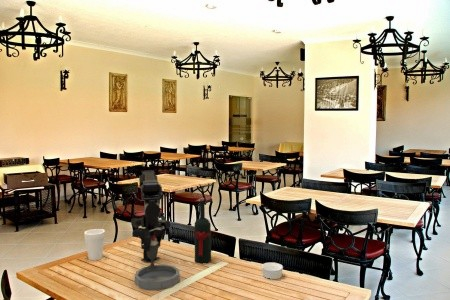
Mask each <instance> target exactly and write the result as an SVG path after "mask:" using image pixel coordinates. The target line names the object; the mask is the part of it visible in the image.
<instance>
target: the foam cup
mask: <svg viewBox="0 0 450 300" xmlns="http://www.w3.org/2000/svg"><path fill="white" fill-rule="evenodd" d="M83 235H84V241H85V246H86V251H87V252H86V253H87V256H88V257H87V258H88V260H89V261H99V260H101V259H103V255H104V254H103V252H104V245H105V244H104V243H105V236H106V230H105V229H102V228H93V229H92V228H91V229H88V230H85V231H84V234H83Z"/></svg>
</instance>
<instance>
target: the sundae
mask: <svg viewBox="0 0 450 300" xmlns="http://www.w3.org/2000/svg"><path fill="white" fill-rule="evenodd" d="M154 234H155V233H154ZM159 245H160V246H161V242H160V243H159V242H158V241H157V239H156V238H155V236H154V235H153V236H152V239H151V244H150V249H149V251H147V256H148V258H149V259H151V262H150V264H149V265H148V266H145V267H146V268H147V269H151V270H152V269H157V268H158V266H156V265H157V264H155V261H154V259H155V258H156V257H158V254H159V253H158V252H159V248H160V247H159ZM158 247H159V248H158Z"/></svg>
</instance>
